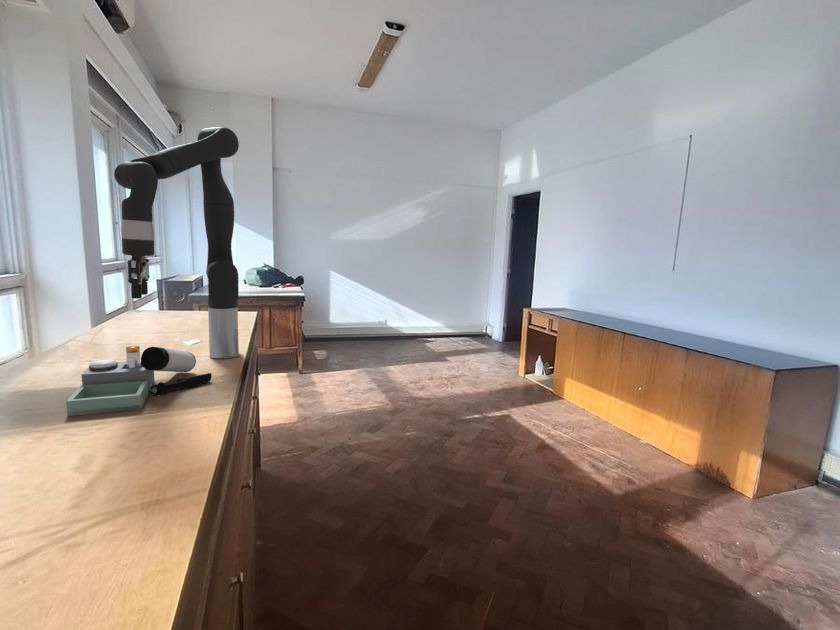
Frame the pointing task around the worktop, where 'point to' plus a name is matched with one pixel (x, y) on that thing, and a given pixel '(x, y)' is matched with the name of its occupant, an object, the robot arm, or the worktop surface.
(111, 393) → the tray
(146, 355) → the travel mug
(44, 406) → the worktop surface
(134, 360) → the gold capped cylinder
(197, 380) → the electric trimmer
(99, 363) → the grey slotted holder
